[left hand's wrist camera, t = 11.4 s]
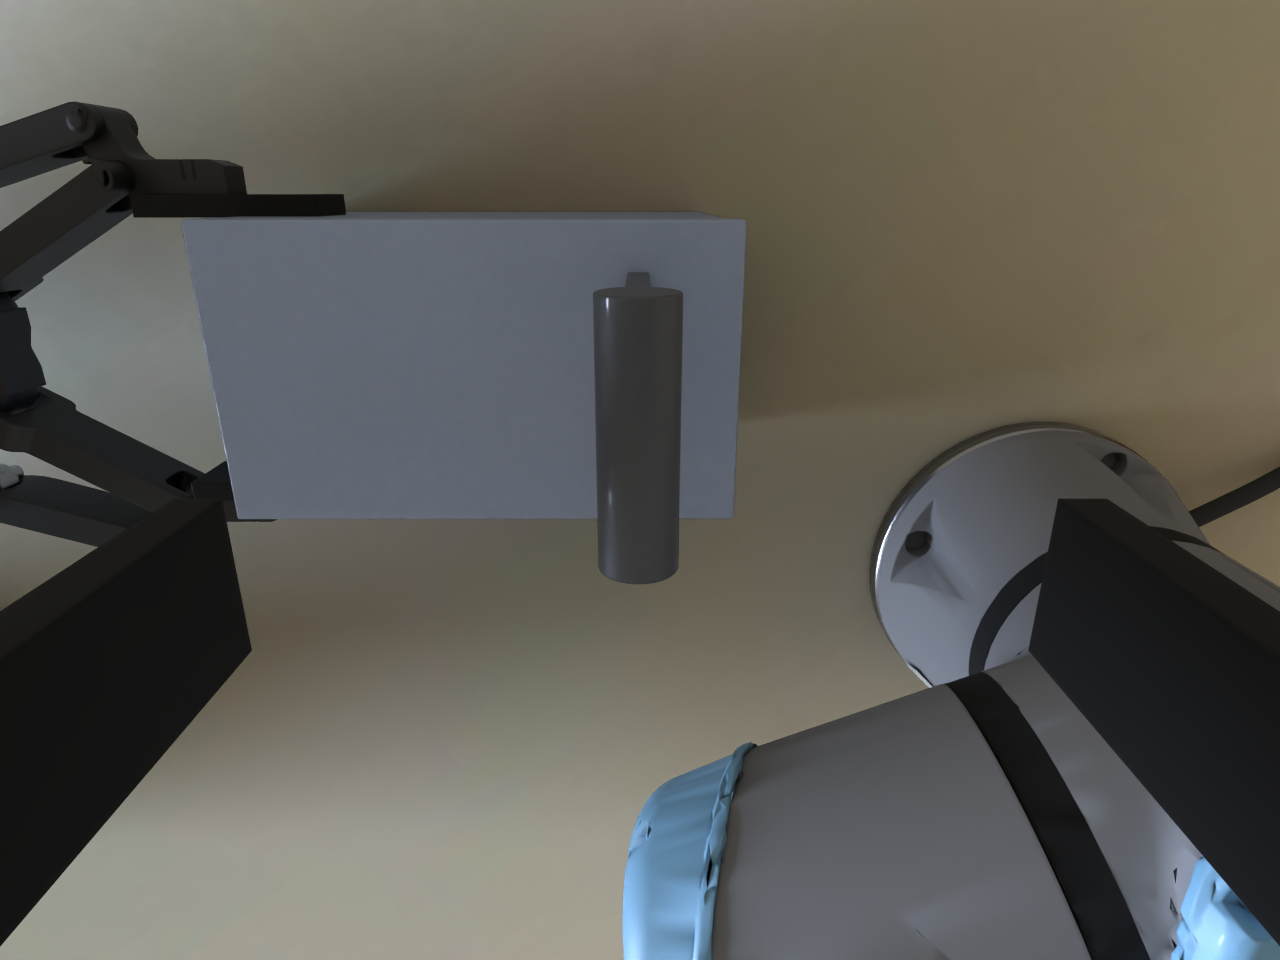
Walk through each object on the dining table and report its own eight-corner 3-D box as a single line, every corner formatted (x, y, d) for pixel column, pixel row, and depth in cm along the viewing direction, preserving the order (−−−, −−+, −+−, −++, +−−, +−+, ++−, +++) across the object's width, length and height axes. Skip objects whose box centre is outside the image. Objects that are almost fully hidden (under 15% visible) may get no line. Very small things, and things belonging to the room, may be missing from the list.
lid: (742, 218, 25) (792, 230, 17) (729, 506, 29) (766, 633, 20) (200, 218, 25) (-14, 231, 17) (253, 506, 29) (97, 633, 20)
